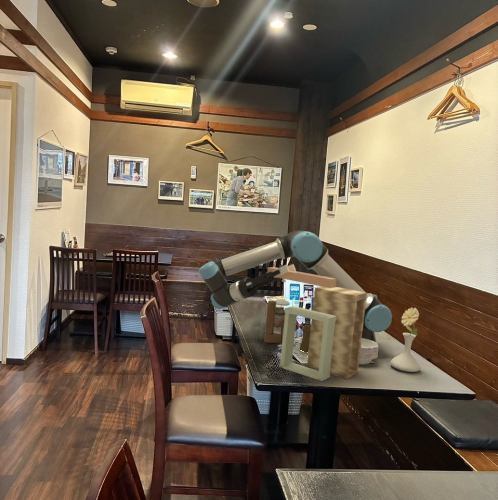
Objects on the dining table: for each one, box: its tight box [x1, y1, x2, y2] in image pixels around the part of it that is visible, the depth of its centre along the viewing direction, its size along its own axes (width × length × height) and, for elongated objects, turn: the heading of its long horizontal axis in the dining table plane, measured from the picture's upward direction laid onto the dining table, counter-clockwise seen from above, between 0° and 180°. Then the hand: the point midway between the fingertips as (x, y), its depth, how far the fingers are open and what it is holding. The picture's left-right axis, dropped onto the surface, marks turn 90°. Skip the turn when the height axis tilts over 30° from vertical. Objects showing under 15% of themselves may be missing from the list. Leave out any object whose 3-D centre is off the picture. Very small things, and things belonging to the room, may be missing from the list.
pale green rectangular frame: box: [278, 305, 337, 382], centre depth 161 cm, size 18×6×22 cm, turn 54°
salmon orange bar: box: [266, 266, 336, 288], centre depth 162 cm, size 26×4×3 cm, turn 54°
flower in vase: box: [390, 307, 422, 373], centre depth 173 cm, size 13×11×25 cm
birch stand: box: [306, 286, 368, 380], centre depth 166 cm, size 16×10×30 cm, turn 54°
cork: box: [299, 324, 311, 352], centre depth 186 cm, size 6×6×11 cm
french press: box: [273, 279, 291, 334], centre depth 212 cm, size 10×12×25 cm
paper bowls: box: [359, 338, 379, 365], centre depth 180 cm, size 15×15×8 cm
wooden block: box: [263, 300, 285, 345], centre depth 194 cm, size 4×11×18 cm, turn 95°
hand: (290, 267), depth 164 cm, fingers closed on salmon orange bar, 4 cm apart
